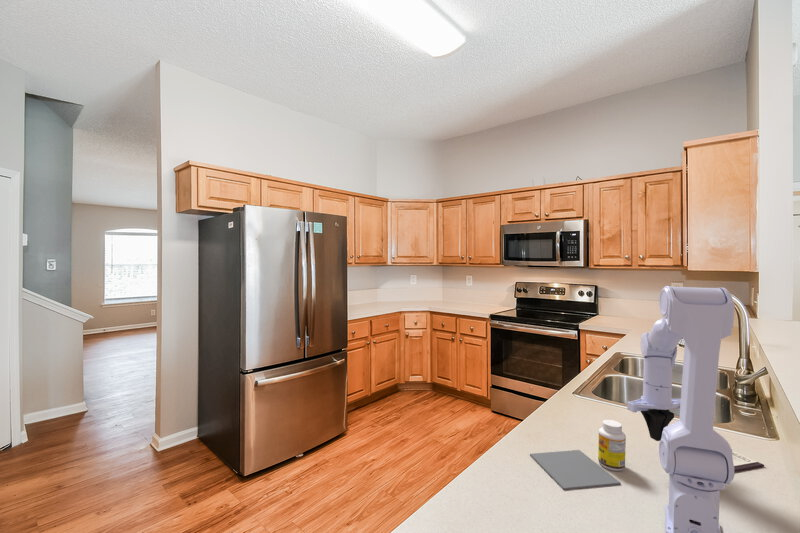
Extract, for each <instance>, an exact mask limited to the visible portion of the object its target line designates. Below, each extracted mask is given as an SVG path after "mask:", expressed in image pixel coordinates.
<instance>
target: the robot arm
mask: <svg viewBox="0 0 800 533" xmlns="http://www.w3.org/2000/svg"><path fill="white" fill-rule="evenodd" d="M658 298H659V299H658V300H659V303H658V306H659V311H660V314H661V315H662V317H661V318H660V319H658V320H656V321H655V322H654V323H653V326H652V327H651V329H650V331H649V332H643V333H641V338H640V351H641V355H642V357H643V374H642V376H643V377H642V378H643V379H642V395H641V396H640V398H637V399H636V400H635V399H634V400H631V401H627V405H626V406H627V407H626V409H627V411H630V412H632V413H633V414H634V413H635V414H636V413H638V412H640V413H641V415H642V416H643V418H644V421H645V423H646V426H647V429H648V433H649V437H650V438H651V439H652V440H654V441H656V442H659V443H658V456H659V461H660V462H659V463H660V465H661V468H662V469H663V470H664V471H665V473H666V474H669V476H668V477H669V478H668V479H669V480H668V481H669V484H668V504H665V533H722V530H721V525H720V494H721V493H720V492H721V490H722V491H724V490H725V485H729V484H731V483H732V482H733V481H734V478H735V472H734V464H733V458H732V451H733V449H732V447H731V446H730V443H729V442H728V440H727V439H726V438H725V437H724V436H723V435H721V434H720V433H719V432H717V431H716V430H715V429H714V422H715V421H714V420H715V409H716V400H717V399H716V397H717V385H718V374H719V372H718V371H719V362H720V360H719V359H720V350H721V343H722V340H723V339H725V338H727V337H730V336H731V335H732V334H733V327H734V317H735V308H736V307H735V302H734V300H733V297H732V294H731V292H730V291H729V290H728V289H727V288H726V287H697V286H695V287H694V286H692V287H691V286H671V285H665V286H663V288H662V289H661V290H660V293H659V297H658ZM682 339H683V341H684V347H683V348H684V349H683V362H682V374H681V375H682V378H681V379H682V380H681V389H680V390H681V391H680V398H673V395H672V392H673V391H672V390H673V368H675V365H676V364H675V363H676V359H677V354H678V344H679V343H680V342H681V340H682ZM675 409H676V410H677V409H679V420H677V421H676V422H673V423H672V422H671V421H673V419H674V418H675V413H674V412H673V411H670V410H675ZM670 423H671V424H670Z"/></svg>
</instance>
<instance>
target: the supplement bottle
mask: <svg viewBox="0 0 800 533" xmlns="http://www.w3.org/2000/svg"><path fill="white" fill-rule="evenodd" d="M622 428H623V425H622V423H621V422H619V421H616V420H613V419H604V420H602V427H600V428H599V430H598V456H597V457H598V458H597V459H598V460H597V461H598V463H599V465H601V466H602V468H604V469H605V468H606V469H607V470H610V471H614V472H621V471H623V470H625V468H626V448H627V447H626V439H627V437H626V434H625V433H624V432H623V429H622Z"/></svg>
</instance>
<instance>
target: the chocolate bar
mask: <svg viewBox="0 0 800 533" xmlns="http://www.w3.org/2000/svg"><path fill="white" fill-rule="evenodd" d="M732 458H733V464H734V473H738V472H744V471H749V470H755V469H762V468H765V464H763V463H761V462H759V461H757V460H755V459H751V458H749V457H747V456H745V455H743V454H741V453H739V452H736V451H734V450H732Z"/></svg>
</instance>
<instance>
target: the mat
mask: <svg viewBox="0 0 800 533" xmlns="http://www.w3.org/2000/svg"><path fill="white" fill-rule="evenodd" d="M529 456H530V457H531V458H532V459H533V461H534V462H536V463H537V464H538V465H539V466H540V467H541V469H543V470H544V471H545V473H547V475H549V477H550V478H551V479H552V480H553V481H554V482H555V483H556V484H557V485H558V486H559V487H560V488H561V490H563V491H568V490H577V489H586V488H588V489H589V488H597V487H599V488H600V487H608V486H617V485H621V482H620V480H618V479H616V478H615V476H613V475H612V474H610V473H609V472H608V471H606V470H605V468H604V467H603V466H602V467H601V466H600V464H598V463H597V462H595V461H594V460H593V459H592V458H590V457H589V456H588V455H587V454H585V453H584V452H583V451H581V450H580V449H575V450H561V451H549V452H538V453H537V452H535V453H530V454H529Z"/></svg>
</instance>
